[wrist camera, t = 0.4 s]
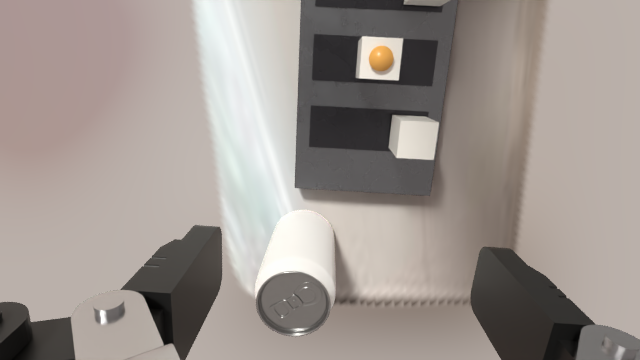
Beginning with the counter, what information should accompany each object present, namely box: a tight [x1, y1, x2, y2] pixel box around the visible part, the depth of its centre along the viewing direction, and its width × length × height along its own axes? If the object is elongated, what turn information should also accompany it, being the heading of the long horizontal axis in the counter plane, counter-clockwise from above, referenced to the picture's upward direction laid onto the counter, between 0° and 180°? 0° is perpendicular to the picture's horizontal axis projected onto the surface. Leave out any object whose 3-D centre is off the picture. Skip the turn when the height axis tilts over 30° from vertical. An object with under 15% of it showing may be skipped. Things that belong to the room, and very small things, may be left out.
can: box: [255, 210, 336, 336], centre depth 33 cm, size 6×6×12 cm
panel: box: [295, 0, 458, 196], centre depth 33 cm, size 24×13×2 cm, turn 177°
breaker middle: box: [356, 36, 403, 81], centre depth 29 cm, size 3×3×4 cm
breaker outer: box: [389, 115, 439, 160], centre depth 31 cm, size 3×3×4 cm
